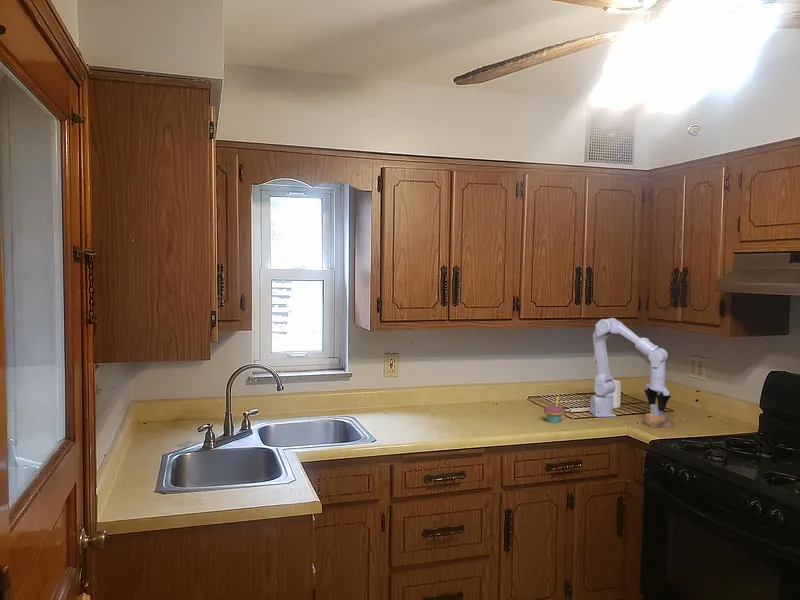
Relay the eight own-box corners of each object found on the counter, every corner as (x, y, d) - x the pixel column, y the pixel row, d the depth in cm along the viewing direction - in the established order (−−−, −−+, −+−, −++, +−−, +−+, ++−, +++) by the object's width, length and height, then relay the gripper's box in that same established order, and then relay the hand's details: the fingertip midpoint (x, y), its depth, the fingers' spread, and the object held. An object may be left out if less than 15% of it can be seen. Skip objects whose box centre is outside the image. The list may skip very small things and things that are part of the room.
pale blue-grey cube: (654, 415, 250) (654, 406, 249) (650, 413, 253) (650, 404, 253) (662, 415, 250) (663, 406, 250) (658, 413, 254) (658, 404, 253)
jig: (651, 428, 247) (651, 422, 247) (641, 422, 255) (641, 417, 255) (673, 427, 248) (673, 422, 248) (663, 422, 256) (663, 417, 256)
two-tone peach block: (649, 424, 250) (650, 415, 249) (645, 421, 253) (645, 413, 253) (667, 423, 250) (668, 415, 250) (663, 421, 254) (663, 413, 254)
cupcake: (563, 419, 261) (564, 392, 260) (563, 424, 253) (564, 397, 252) (543, 418, 263) (544, 391, 262) (543, 423, 255) (543, 395, 254)
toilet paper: (597, 407, 282) (598, 382, 282) (598, 402, 292) (598, 378, 291) (620, 409, 279) (620, 383, 278) (620, 404, 289) (620, 379, 288)
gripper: (676, 380, 244) (675, 412, 245) (657, 373, 258) (656, 404, 259) (660, 380, 243) (659, 413, 244) (641, 374, 257) (641, 404, 258)
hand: (656, 408), depth 251 cm, fingers open, 7 cm apart
